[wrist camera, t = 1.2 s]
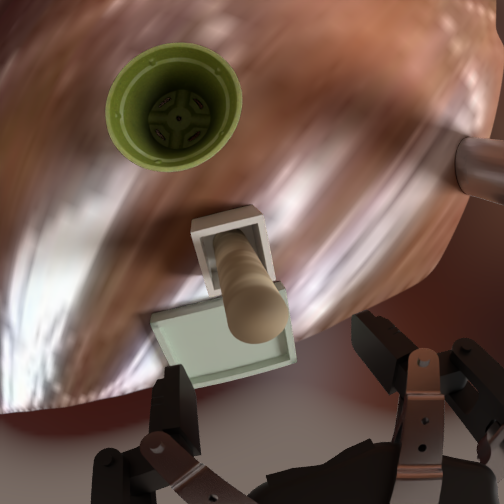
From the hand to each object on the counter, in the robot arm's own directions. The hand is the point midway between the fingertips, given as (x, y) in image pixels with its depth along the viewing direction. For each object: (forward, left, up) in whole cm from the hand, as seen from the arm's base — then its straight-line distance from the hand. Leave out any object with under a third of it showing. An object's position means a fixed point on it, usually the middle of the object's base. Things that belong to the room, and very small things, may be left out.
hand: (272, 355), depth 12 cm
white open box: (0, 0, -18) cm, 18 cm away
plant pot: (+2, -13, -18) cm, 22 cm away
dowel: (0, 0, -17) cm, 17 cm away
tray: (+3, +12, -18) cm, 22 cm away
